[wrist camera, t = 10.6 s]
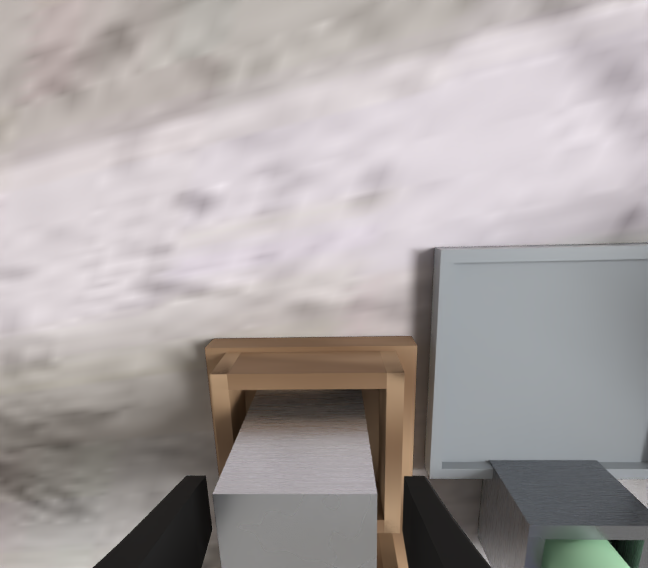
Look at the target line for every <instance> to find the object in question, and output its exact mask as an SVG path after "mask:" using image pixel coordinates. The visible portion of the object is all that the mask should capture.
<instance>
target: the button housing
mask: <svg viewBox="0 0 648 568" xmlns="http://www.w3.org/2000/svg"><path fill="white" fill-rule="evenodd" d="M489 463H490V464H491V466H492V467H493V478H492V479H483V484H482V495H481V506H480V516H479V527H478V538H479V540H480V542H481V545H482V547H483V549H484V551H485V554H486V556H487V558H488V560H489V563H490V565H491V567H492V568H541V565H542V558H543V552H544V545H545V539H567V540H608V541H609V543H610V544H611V545H612V546H613V547H614V549H615V550H616V551H617V552H618V554H619V555H620V556H621V557H622V558H623V560H624V561H625V562H626V563H627V564H628V566H629V567H630V568H648V509H647V508H646V507H645V506H644V505H643V504H642V503H641V502H640V501H639V500H638V499H637V498H636V497H635V496H634V495H633V494H632V493H630V492H629V491H628V490H627V489H626V488H625V487H624V486H623V485H622V484H621V483H620V482H619V481H618V480H617V479H616V478H615V477H614V476H613V475H612V474H611V473H609V472H608V471H607V470H606V469H605V468H604V467H603V466H602V465H601V464H600V463H599V462H598V461H597V460H489Z"/></svg>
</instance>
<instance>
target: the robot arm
mask: <svg viewBox="0 0 648 568" xmlns="http://www.w3.org/2000/svg"><path fill="white" fill-rule="evenodd" d="M211 532H212V523H211V515H210V507H209V498H208V490H207V482H206V476H186V477H185V478H184V479H183V480H182V481H181V482H180V483H179V484H178V485H177V486H176V487H175V488H174V489H173V490H172V491H171V492H170V493H169V494H168V495H167V496H166V497H165V498H164V499H163V500H162V501H161V502H160V503H159V504H158V505H157V506H156V507H155V508H154V509H153V510H152V511H151V512H150V513H149V514H148V515H147V516H146V517H145V518H144V519H143V520H142V521H141V522H140V523H139V524H138V525H137V526H136V527H135V528H134V529H133V530H132V531H131V532H130V533H129V534H128V535H127V536H126V537H125V538H124V539H123V540H122V541H121V542H120V543H119V544H118V545H117V546H116V547H115V548H114V549H112V550H111V551H110V552H109V553H108V554H107V555H106V556H105V557H104V558H103V559H102V560H101V561H100V562H98V563H97V564H96V565H95V566H94V567H93V568H201V567H202V563H203V560H204V557H205V553H206V550H207V546H208V543H209V539H210V536H211ZM402 532H403V538H404V544H405V551H406V556H407V562H408V568H491V566H490V565H489V564H488V563H487V562H486V560H485V559H484V558H483V557H482V555H481V554H480V553H479V551H478V550H477V549H476V548H475V546H474V545H473V544H472V542H471V541H470V540H469V538H468V537H467V536H466V534H465V533H464V532H463V530H462V529H461V528H460V526H459V525H458V524H457V522H456V521H455V520H454V518H453V517H452V515H451V514H450V512H449V511H448V510H447V508H446V507H445V505H444V504H443V502H442V501H441V499H440V498H439V496H438V495H437V493H436V492H435V490H434V489H433V487H432V486H431V484H430V483H429V481H428V479H427V478H426V477H425V476H404V492H403V524H402Z"/></svg>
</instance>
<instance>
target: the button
mask: <svg viewBox="0 0 648 568" xmlns="http://www.w3.org/2000/svg"><path fill="white" fill-rule="evenodd" d="M541 568H630V567H629V566H628V564H627V563H626V562H625V561H624V560H623V558H622V557H621V556H620V555H619V554H618V552H617V551H616V550H615V549H614V547H613V546H612V545H611V544H610V543H609V541H608V540H567V539H545V545H544V552H543V558H542V565H541Z"/></svg>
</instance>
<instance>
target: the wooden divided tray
mask: <svg viewBox="0 0 648 568" xmlns="http://www.w3.org/2000/svg"><path fill="white" fill-rule="evenodd" d="M205 355H206V364H207V373H208V382H209V391H210V400H211V409H212V418H213V427H214V436H215V445H216V454H217V463H218V472H219V478H220V475H221V473H222V471H223V468H224V466H225V464H226V461H227V459H228V457H229V454H230V452H231V450H232V447H233V445H234V443H235V440H236V438H237V436H238V433H239V431H240V429H241V426H242V424H243V422H244V419H245V417H246V415H247V412H248V410H249V408H250V405H251V403H252V401H253V398H254V396H255V394H256V391H257V390H296V389H361V390H362V397H363V404H364V410H365V417H366V423H367V430H368V437H369V443H370V450H371V456H372V463H373V470H374V476H375V483H376V489H377V568H408V562H407V556H406V551H405V544H404V538H403V532H402V524H403V492H404V476H412V471H413V444H414V418H415V392H416V365H417V344H416V343H415V341H414V340H413V338H412V336H383V337H305V338H228V339H213V340H212V341H211V342H210V343H209V344H208V345H207V346H206V347H205Z"/></svg>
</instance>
